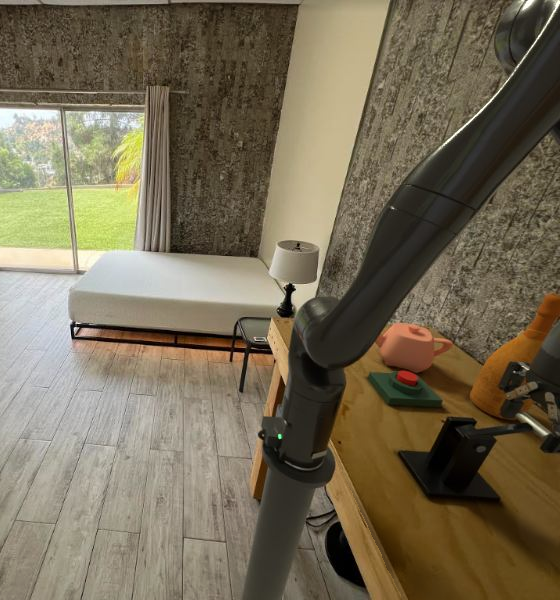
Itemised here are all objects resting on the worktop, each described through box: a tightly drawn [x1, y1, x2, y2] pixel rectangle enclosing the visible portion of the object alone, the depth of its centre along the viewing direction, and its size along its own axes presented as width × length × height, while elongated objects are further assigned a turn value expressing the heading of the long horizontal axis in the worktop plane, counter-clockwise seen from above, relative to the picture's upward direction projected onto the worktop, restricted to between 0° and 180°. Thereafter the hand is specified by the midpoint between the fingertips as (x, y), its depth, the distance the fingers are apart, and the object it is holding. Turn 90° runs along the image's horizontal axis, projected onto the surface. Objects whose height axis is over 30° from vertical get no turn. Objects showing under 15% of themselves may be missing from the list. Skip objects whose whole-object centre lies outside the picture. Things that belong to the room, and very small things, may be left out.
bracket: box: [397, 416, 502, 503], centre depth 58 cm, size 12×9×13 cm
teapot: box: [374, 322, 454, 374], centre depth 91 cm, size 13×20×12 cm, turn 58°
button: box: [396, 370, 418, 386], centre depth 80 cm, size 4×4×2 cm
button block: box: [367, 370, 444, 408], centre depth 81 cm, size 12×10×4 cm
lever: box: [453, 412, 552, 443], centre depth 55 cm, size 12×5×2 cm, turn 84°
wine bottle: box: [469, 292, 560, 421], centre depth 70 cm, size 10×10×30 cm
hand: (526, 433), depth 55 cm, fingers open, 7 cm apart
